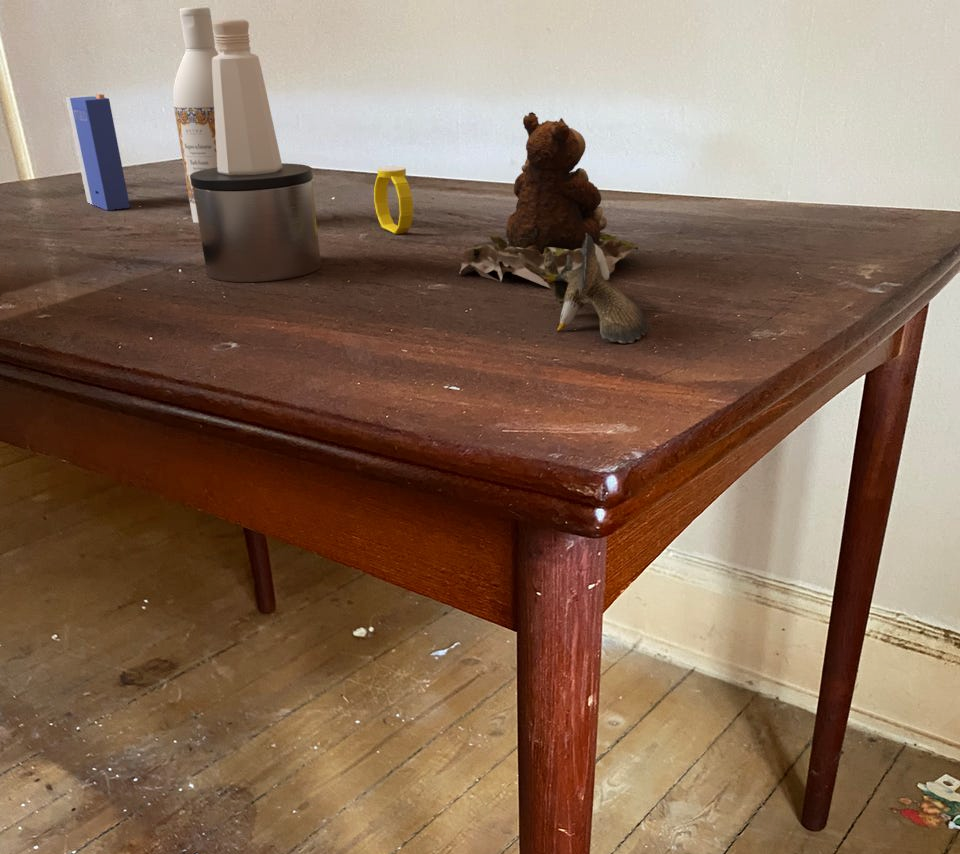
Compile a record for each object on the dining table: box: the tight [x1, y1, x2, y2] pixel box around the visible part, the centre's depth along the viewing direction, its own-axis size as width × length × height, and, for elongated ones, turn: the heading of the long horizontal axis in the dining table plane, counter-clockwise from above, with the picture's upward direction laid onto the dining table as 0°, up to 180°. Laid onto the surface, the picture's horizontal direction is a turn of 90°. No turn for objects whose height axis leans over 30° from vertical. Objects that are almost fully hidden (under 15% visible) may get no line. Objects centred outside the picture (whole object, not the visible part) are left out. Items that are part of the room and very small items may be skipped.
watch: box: [373, 165, 414, 235], centre depth 104 cm, size 6×3×6 cm, turn 31°
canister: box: [190, 162, 322, 283], centre depth 90 cm, size 10×10×8 cm
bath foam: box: [172, 6, 218, 224], centre depth 107 cm, size 7×7×20 cm
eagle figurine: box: [518, 233, 649, 345], centre depth 71 cm, size 8×7×9 cm
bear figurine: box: [458, 111, 639, 289], centre depth 86 cm, size 14×15×12 cm
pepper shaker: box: [212, 18, 283, 176], centre depth 85 cm, size 5×5×11 cm
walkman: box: [65, 93, 131, 211], centre depth 123 cm, size 8×3×12 cm, turn 35°
